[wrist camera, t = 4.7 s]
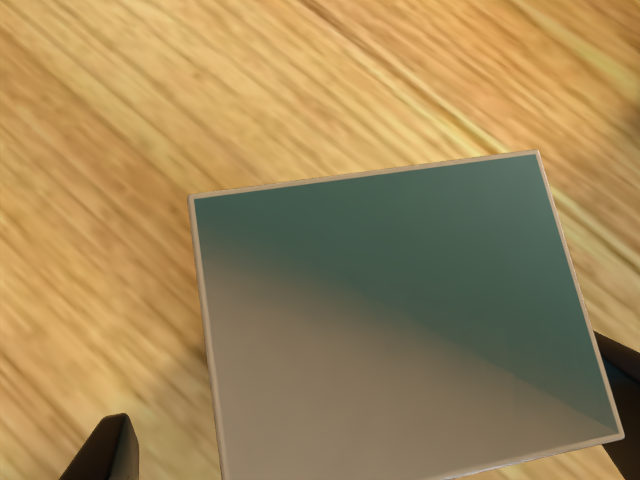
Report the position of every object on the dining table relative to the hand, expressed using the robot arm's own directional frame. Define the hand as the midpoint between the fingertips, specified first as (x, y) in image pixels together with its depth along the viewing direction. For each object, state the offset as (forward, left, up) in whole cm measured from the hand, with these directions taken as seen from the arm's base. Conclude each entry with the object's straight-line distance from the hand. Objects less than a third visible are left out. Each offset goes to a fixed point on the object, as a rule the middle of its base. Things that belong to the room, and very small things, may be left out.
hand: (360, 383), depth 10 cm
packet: (+1, +1, -8) cm, 9 cm away
